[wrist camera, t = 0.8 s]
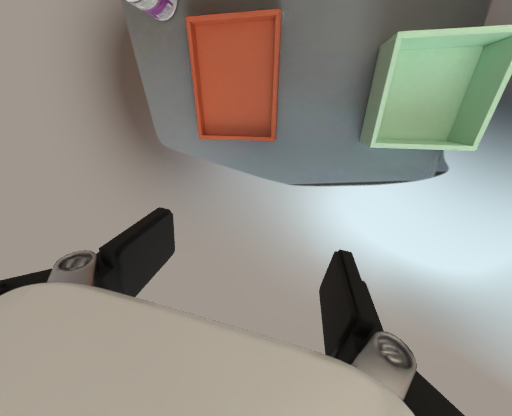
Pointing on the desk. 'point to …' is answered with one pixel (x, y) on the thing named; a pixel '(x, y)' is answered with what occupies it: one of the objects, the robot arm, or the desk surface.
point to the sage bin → (437, 88)
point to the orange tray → (236, 73)
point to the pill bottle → (156, 7)
